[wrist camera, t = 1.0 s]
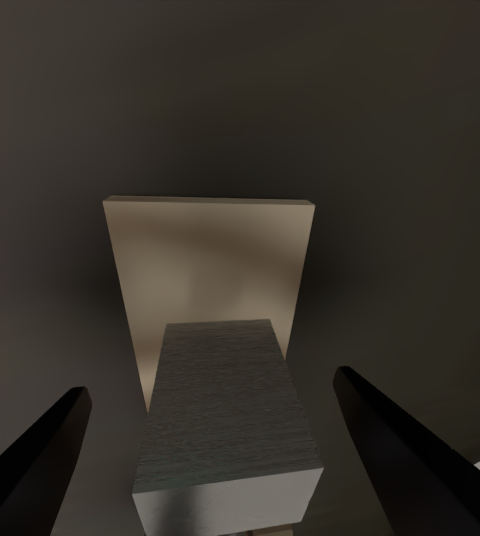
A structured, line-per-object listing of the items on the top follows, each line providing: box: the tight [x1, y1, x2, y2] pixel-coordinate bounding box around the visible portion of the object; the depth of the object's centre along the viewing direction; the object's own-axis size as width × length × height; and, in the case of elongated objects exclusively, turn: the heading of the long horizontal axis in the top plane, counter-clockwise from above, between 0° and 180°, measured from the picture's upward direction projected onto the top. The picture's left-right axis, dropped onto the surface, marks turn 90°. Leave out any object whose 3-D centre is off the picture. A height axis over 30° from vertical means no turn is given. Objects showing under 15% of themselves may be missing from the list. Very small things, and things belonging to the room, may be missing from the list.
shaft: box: [132, 319, 324, 536], centre depth 11 cm, size 14×4×5 cm, turn 177°
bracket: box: [103, 195, 315, 536], centre depth 13 cm, size 20×10×10 cm, turn 177°
